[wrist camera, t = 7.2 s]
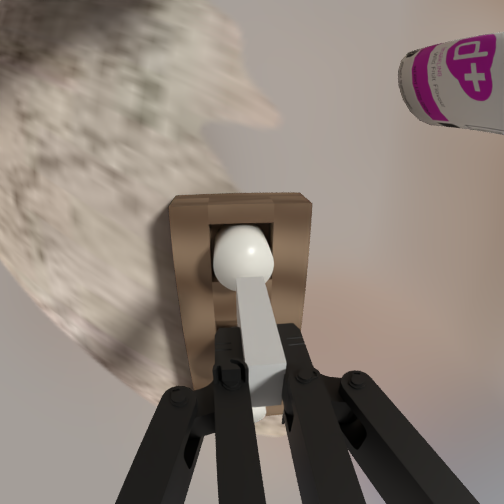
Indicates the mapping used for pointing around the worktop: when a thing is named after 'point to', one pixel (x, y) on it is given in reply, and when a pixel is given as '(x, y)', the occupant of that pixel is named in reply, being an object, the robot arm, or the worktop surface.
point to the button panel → (202, 271)
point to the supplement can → (457, 83)
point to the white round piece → (241, 254)
